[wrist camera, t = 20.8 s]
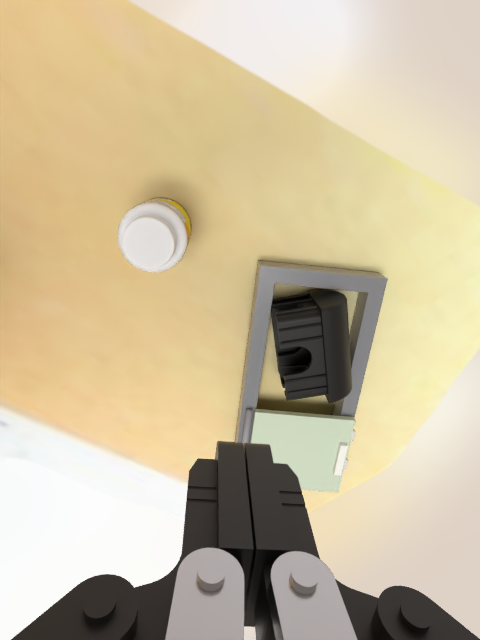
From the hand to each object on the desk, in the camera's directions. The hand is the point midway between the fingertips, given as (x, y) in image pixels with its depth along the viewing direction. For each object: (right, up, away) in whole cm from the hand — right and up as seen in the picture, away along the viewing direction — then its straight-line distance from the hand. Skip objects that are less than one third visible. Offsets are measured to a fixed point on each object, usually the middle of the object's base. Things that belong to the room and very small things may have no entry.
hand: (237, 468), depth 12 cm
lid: (+6, -10, +35) cm, 37 cm away
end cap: (+7, +3, +34) cm, 35 cm away
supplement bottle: (-7, +13, +29) cm, 33 cm away
